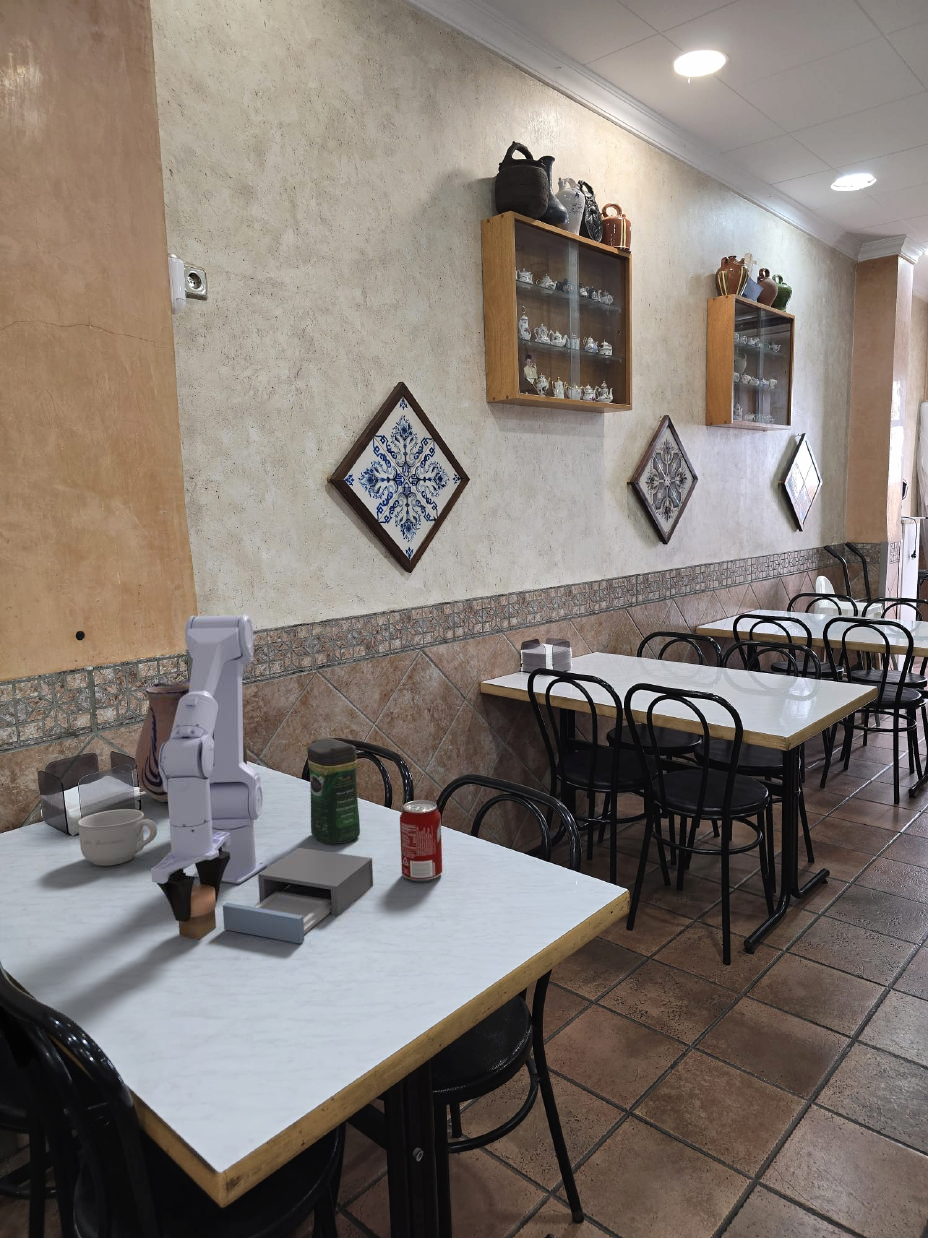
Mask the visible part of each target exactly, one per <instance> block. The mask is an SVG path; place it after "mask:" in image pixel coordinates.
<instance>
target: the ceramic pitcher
mask: <svg viewBox="0 0 928 1238" xmlns="http://www.w3.org/2000/svg"><path fill="white" fill-rule="evenodd" d="M189 687H190V680H186V681H178V682H175V683H172V684H171V683H170V684H169V683H168V684H167V683H166V682H157V683H153V686H148V687H146V688H145V689H144V692H145V693H146V694H147V697H148V708H147V711H146V715H145V718H144V721H143V724H142V728H141V732H140V735H139V737H138V738H139V739H138V743H137V747H136V751H135V755H134V756H135V757H134V763H135V762H136V765H137V774H138V780H139V782H138V784H139V786H140V787H141V789H143V791H144V792H145V793H146V794H147V795H149V796H150V797H152V798H153V799H154V800H157V801H158V802H162V803H165V802H167V803H168V792H165V791H164V788H163V780H162V777H161V775H160V772H159V765H158V764H159V752H160V748H161V746H162V744H163V743H164V742H167V741H168V740H169V739H170V736H171V732H172V728H173V724H174V720H175V715H176V711H177V707H178V703H179V700H180V699H181V698H182V697H183V696H184V695H186V694H188V693H189ZM138 780H137V781H138Z"/></svg>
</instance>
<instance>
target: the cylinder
mask: <svg viewBox="0 0 928 1238" xmlns="http://www.w3.org/2000/svg"><path fill="white" fill-rule="evenodd" d="M216 907H217V902H216V900H215V888H214V887H213V886H210V885H204V884H201V885H200V884H195V885H194V884H193V888H192V893H191V916H190V917H196V916H201V915H204V914H207V913H209V912H211V911H212V910H214V909H215V910H216Z"/></svg>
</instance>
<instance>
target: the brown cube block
mask: <svg viewBox="0 0 928 1238" xmlns="http://www.w3.org/2000/svg"><path fill="white" fill-rule="evenodd" d="M216 928H217V922H216V908H215V909H214V910H212V911H211V912H209V913H207V914H204V915H201V916H196V917H190V920H189V921H188V922H182V921H178V931H179V932H178V933H179V936H181V937H182V936H183V937H187V938H192V939H196V940H197V939H198V940H201V939H202V938H203V937H205V936H207V934H209V933H210V932H212V931H213V930H215V929H216Z"/></svg>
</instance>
